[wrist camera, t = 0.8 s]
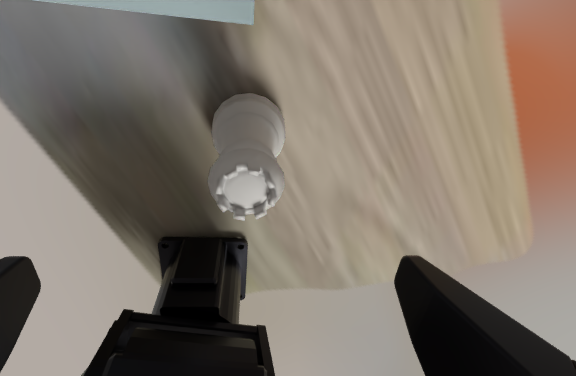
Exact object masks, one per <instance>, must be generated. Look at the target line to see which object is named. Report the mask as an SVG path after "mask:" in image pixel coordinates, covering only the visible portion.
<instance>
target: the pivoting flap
mask: <svg viewBox="0 0 576 376" xmlns="http://www.w3.org/2000/svg"><path fill="white" fill-rule="evenodd" d="M34 1H43V2H52V3H61V4H70V5H79V6H88V7H97V8H106V9H114V10H123V11H132V12H141V13H150V14H159V15H168V16H177V17H186V18H195V19H204V20H213V21H222V22H231V23H239V24H248V25H253V24H254V1H255V0H34Z"/></svg>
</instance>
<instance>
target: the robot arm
mask: <svg viewBox="0 0 576 376" xmlns="http://www.w3.org/2000/svg"><path fill="white" fill-rule="evenodd" d="M163 243H167V244H168V245H165V244H163ZM239 245H243V246H239ZM247 249H248V243H247V241H246V240H245V239H241V238H192V237H163V238H161V239H160V241H159V243H158V250H159V257H160V264H161V271H162V278H163V281H162V284H161V287H160V290H159V293H158V296H157V299H156V302H155V305H154V308H153V311H152V314H147V313H139V312H134V310H127V309H124V310H123V311H122V313H121V315H120V317H119V319H118V320H115V321H114V323H113V325H112V327H111V328H110V329H109V331H108V333H107V335H106V337H105V339H104V340H103V342H102V344H101V346H100V347H99V349H98V351H97V353H96V355H95V356H94V358H93V360H92V361H91V363H90V365H89V366H88V368H87V369H86V370H85V371H84V373H83V374H82V375H81V376H275V373H274V368H273V363H272V357H271V352H270V347H269V342H268V337H267V332H266V327H265V326H263V325H257V326H251V325H242V324H239V307H240V300H243V299H244V298H245V289H246V269H247ZM394 284H395V289H396V292H397V295H398V298H399V302H400V306H401V309H402V312H403V316H404V318H405V322H406V326H407V329H408V332H409V335H410V338H411V341H412V344H413V347H414V349H415V352H416V354H417V357H418V359H419V362H420V364H421V366H422V369H423V371H424V374H425V376H576V361H575V360H571V359H570V357H569V356H567V355H566V354H564V353H563V352H561V351H560V350H559V349H557V348H556V347H554V346H553V345H551V344H550V343H548V342H546V341H545V340H543V339H542V338H540V337H539V336H538V335H536V334H535V333H533V332H532V331H530V330H529V329H527V328H526V327H524V326H523V325H521V324H520V323H518V322H517V321H515V320H514V319H512V318H511V317H510V316H508V315H506V314H505V313H503V312H502V311H500V310H499V309H498V308H496V307H495V306H493V305H492V304H490V303H489V302H487V301H486V300H484V299H483V298H481V297H479V296H478V295H477V294H475V293H474V292H472V291H471V290H469V289H468V288H466V287H465V286H463V285H462V284H460V283H459V282H458V281H456V280H455V279H453V278H452V277H450V276H449V275H447V274H446V273H444V272H443V271H441V270H440V269H438V268H437V267H435V266H434V265H432V264H431V263H429V262H428V261H426V260H425V259H423V258H422V257H420V256H416V255H406V256H403V257H402V259H401V261H400V264H399V267H398V270H397V273H396V275H395V280H394ZM40 287H41V283H40V280H39V278H38V275H37V273H36V270H35V268H34V265H33V263H32V261H31V259H29V258H28V257H25V256H9V257H4V258H2V259H0V372H1V370H2V368H3V366H4V365H5V363H6V361H7V359H8V358H9V356H10V354H11V352H12V350H13V348H14V346H15V344H16V342H17V339H18V337H19V335H20V333H21V330H22V329H23V327H24V325H25V322H26V320H27V318H28V316H29V314H30V312H31V310H32V308H33V305H34V303H35V301H36V299H37V297H38V294H39V292H40V289H41V288H40Z"/></svg>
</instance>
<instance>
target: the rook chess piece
mask: <svg viewBox="0 0 576 376" xmlns="http://www.w3.org/2000/svg"><path fill="white" fill-rule="evenodd" d="M211 134H212V138H213V143H214V147H215V149H216V150H217V151H218V153H219V154H220V155H219V158H218V159H217V160H216V162H215V163H214V164H213V165H212V167H211V168H210V172H209V177H208V185H209V190H210V194H211V195H212V196H213V198H214V199H215V200H216V202H217V205H218V207H219V208H220V209H221V210H222V212H223V213H224V212H225V211H226V210H229V211H230V212H234V216H233V219H238V220H243V221H245V215H247V214H254V215H255V217H256V219H258V218H261V217H263V216H265V215H267V212H266V209H269V208H271V207H272V206H273V207H274V206H275V203H276V202H277V201H278V200H279V199H280V197H281V195H282V192H283V189H284V186H285V182H284V173H283V171H282V169H281V168H280V166H279V164H278V163H277V160H276V157H277V156H278V155H279V153H280V152H281V150H282V147H283V144H284V141H285V122H284V118H283V116H282V114H281V112H280V110H279V109H278V107H277V106H276V105H275V104H273V103H272V102H271V101H270V100H269V99H267V98H266V97H263V96H260V95H256V94H253V93H246V94H236V95H234V96H233V97H231V98H229V99H227V100H225V101H224V102H223V103H222V104H221V105H220V107H219V108H218V109H217V111H216V112H215V114H214V119H213V123H212V131H211Z"/></svg>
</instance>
